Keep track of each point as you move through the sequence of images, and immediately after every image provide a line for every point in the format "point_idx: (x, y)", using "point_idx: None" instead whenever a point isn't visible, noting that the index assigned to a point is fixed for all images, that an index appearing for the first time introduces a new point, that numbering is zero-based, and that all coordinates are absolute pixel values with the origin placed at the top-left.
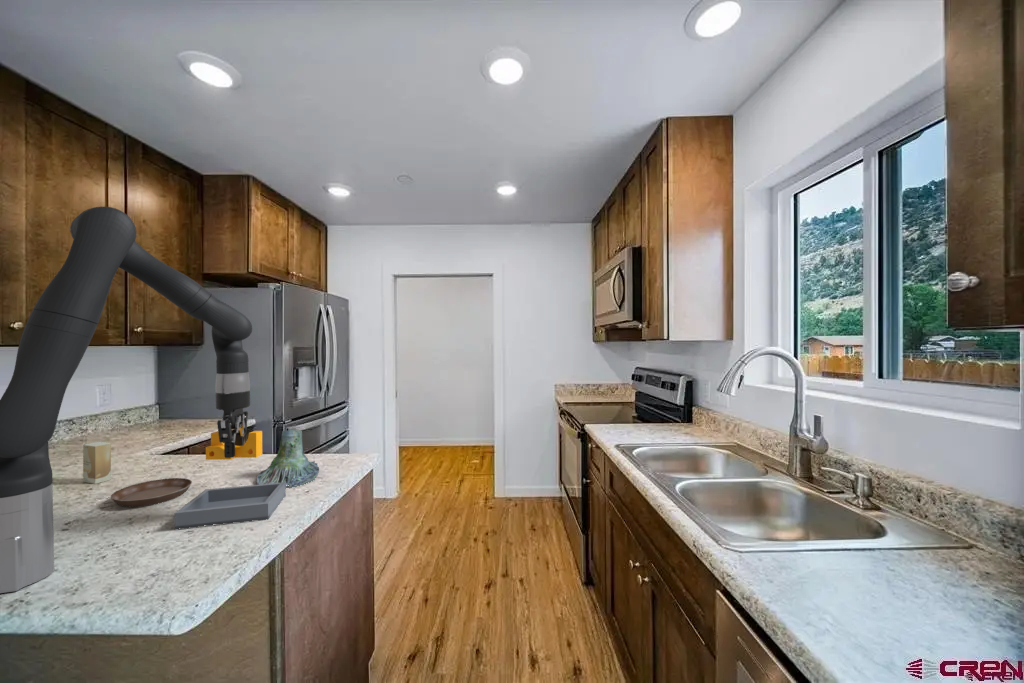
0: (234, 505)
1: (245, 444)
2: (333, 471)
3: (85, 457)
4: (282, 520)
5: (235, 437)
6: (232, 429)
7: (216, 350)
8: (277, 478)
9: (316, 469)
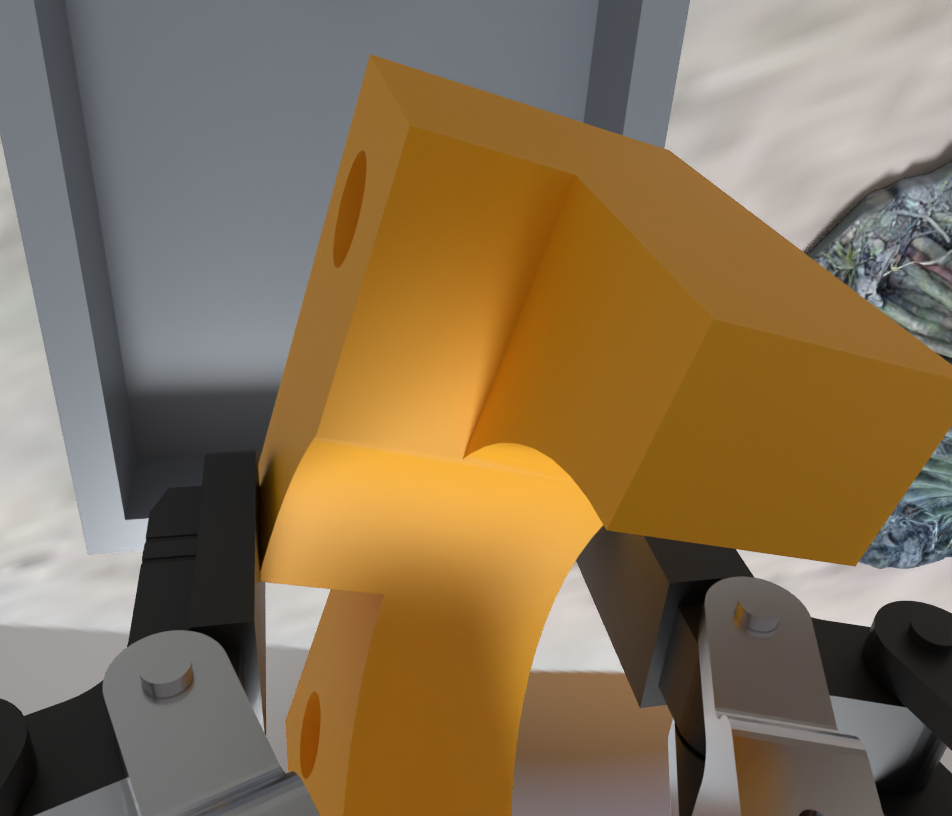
0: (86, 315)
1: (337, 782)
2: (943, 598)
3: None
4: (73, 561)
5: (682, 627)
6: (718, 779)
7: None
8: (921, 332)
9: None
